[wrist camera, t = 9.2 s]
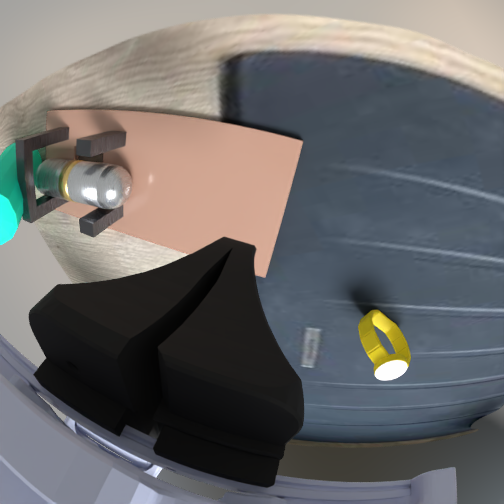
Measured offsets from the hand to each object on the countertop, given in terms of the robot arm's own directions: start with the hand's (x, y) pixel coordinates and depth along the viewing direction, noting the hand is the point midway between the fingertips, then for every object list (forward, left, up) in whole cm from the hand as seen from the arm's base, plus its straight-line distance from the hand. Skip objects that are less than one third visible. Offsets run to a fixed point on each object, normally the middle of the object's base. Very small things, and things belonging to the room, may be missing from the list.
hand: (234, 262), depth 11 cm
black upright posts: (+11, +13, -9) cm, 19 cm away
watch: (-15, -3, -10) cm, 18 cm away
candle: (+19, +21, -8) cm, 29 cm away
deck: (+7, +9, -10) cm, 15 cm away
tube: (+10, +13, -9) cm, 19 cm away
